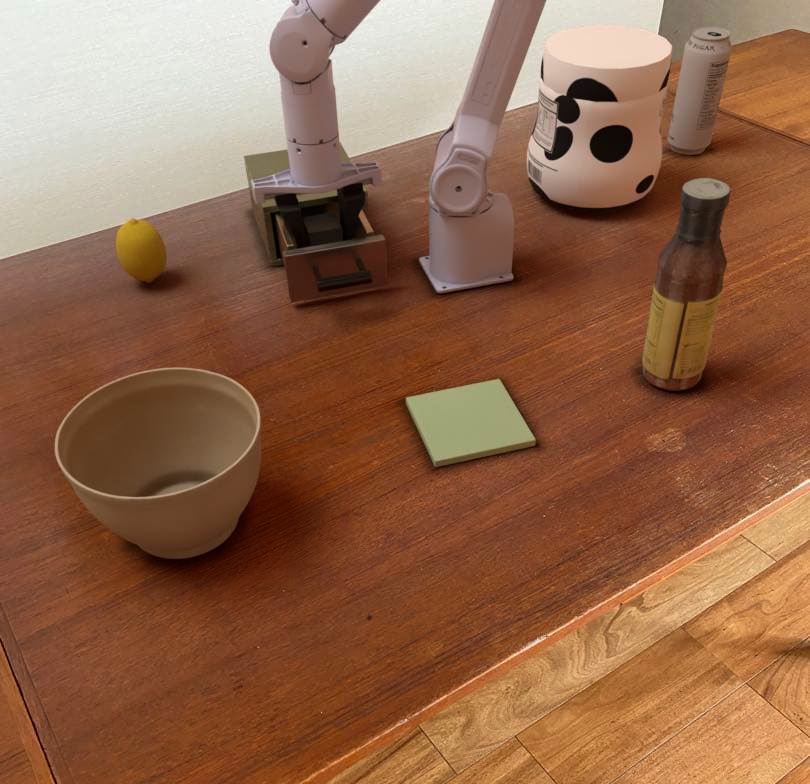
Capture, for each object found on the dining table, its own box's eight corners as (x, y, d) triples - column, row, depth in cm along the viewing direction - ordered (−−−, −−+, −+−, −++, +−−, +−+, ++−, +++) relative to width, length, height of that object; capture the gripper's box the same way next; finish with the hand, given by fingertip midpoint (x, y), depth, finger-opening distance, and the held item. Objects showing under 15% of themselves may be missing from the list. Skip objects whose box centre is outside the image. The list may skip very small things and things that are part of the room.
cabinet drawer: (397, 304, 98) (395, 257, 94) (298, 322, 96) (291, 275, 92) (359, 231, 109) (356, 186, 105) (270, 246, 108) (264, 201, 103)
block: (337, 243, 105) (334, 211, 102) (345, 259, 103) (342, 227, 100) (305, 248, 105) (301, 217, 102) (312, 264, 102) (308, 233, 99)
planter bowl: (196, 620, 69) (164, 527, 61) (56, 544, 75) (10, 451, 67) (314, 498, 78) (300, 403, 70) (180, 439, 84) (153, 346, 76)
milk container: (673, 180, 118) (703, 35, 105) (623, 235, 109) (649, 83, 95) (558, 154, 125) (572, 14, 112) (501, 203, 115) (509, 56, 102)
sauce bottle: (704, 363, 90) (755, 175, 76) (697, 399, 86) (749, 208, 72) (640, 353, 92) (678, 167, 77) (631, 387, 88) (669, 198, 73)
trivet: (499, 384, 89) (499, 378, 88) (535, 446, 82) (536, 439, 82) (405, 403, 87) (405, 397, 87) (435, 467, 81) (435, 461, 80)
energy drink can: (682, 135, 128) (705, 21, 117) (717, 147, 125) (744, 32, 114) (657, 147, 125) (678, 33, 114) (692, 160, 122) (717, 43, 111)
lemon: (162, 296, 102) (145, 232, 96) (119, 292, 103) (99, 229, 97) (179, 271, 106) (164, 209, 100) (137, 268, 107) (120, 206, 101)
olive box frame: (371, 249, 108) (367, 190, 102) (271, 266, 106) (262, 207, 100) (344, 198, 118) (339, 141, 112) (253, 212, 116) (243, 155, 110)
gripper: (368, 111, 97) (374, 225, 107) (240, 128, 95) (258, 243, 105) (384, 136, 93) (389, 252, 103) (250, 155, 90) (268, 273, 100)
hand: (324, 250), depth 103 cm, fingers closed on cabinet drawer, 5 cm apart
